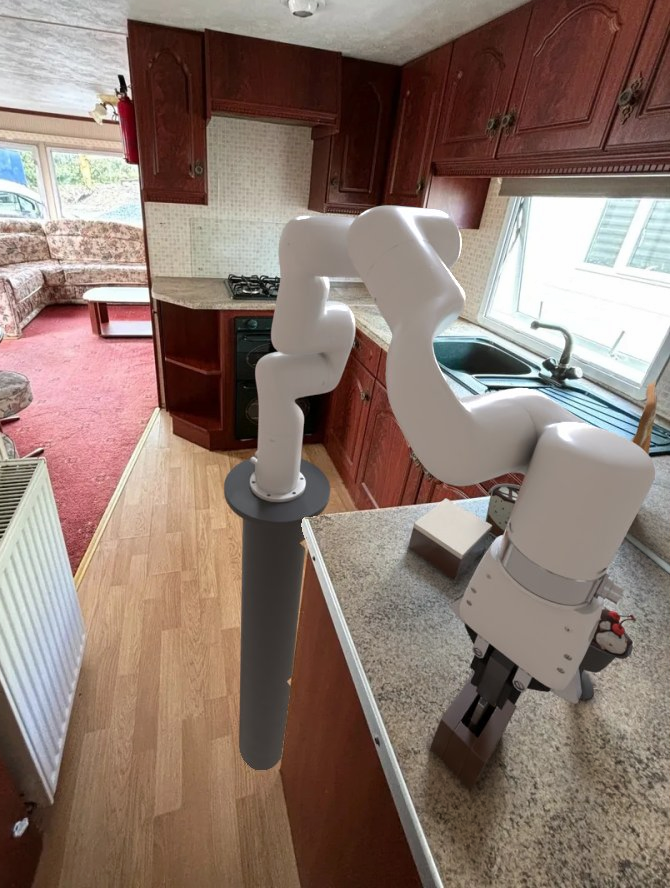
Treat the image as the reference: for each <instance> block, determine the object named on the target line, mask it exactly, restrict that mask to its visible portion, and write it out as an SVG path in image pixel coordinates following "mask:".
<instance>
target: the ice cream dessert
mask: <svg viewBox="0 0 670 888" xmlns="http://www.w3.org/2000/svg"><path fill="white" fill-rule="evenodd" d="M520 488H521V485H519V484H514V483H499V484H495V485H493V486H492V487H491V488H490V489H489V490H488V492H487V493H486V494H487V495H490V496H489V502H488V506H487V512H486V515H485V521H486V522H487V523H489V524H491V525H492V528H491V530H490V533H489V535H491V536H492V537H494V539H496V538H497V537H499V536H501V535H504V532H505V529H506V526H507V524H508V521H509V518H510V515H511V513H512V510H513V507H514V504H515V502H516V499H517V496H518V493H519V491H520Z"/></svg>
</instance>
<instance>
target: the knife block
mask: <svg viewBox="0 0 670 888" xmlns="http://www.w3.org/2000/svg"><path fill="white" fill-rule="evenodd" d="M474 672H475V671H474V670H473V672H472V674H471V675H470V676H469V678H468V679H467V681H466V682H465V683H464V685H463V687H462V688H461V689H460V691H459V692H458V693H457V695H456V697H455V698H454V700H453V701H452V703H451V704H450V705H449V706H448V708H447V709H446V711H445V712H444V713H443V716H442V717H440V719H439V723H438V726H437V728H436V731H435V734H434V736H433V738H432V742H431V744H430V746H429V749H430V751H432V752H433V754H434V755H435V756H436V757H437V758H438V759H439V760H440V761H441V762H442V763H443V764H444V765H445V766H446V768H447V769H448V770H450V772H451V773H452V774H453V775H454V776H455V777H456V778H457V779H458V780H459V781H460V782H461V784H463V786H465V788H466V789H467V790H468V791H469V792H470V793H471V792H473V790H474V788H475V787H476V784H477V782H478V780H479V778H480V777H481V775H482V773H483V771H484V769H485V768H486V766H487V764H488V763H489V760H490V759H491V757H492V756H493V753H494V752H495V750H496V748H497V746H498V744H499V742H500V740H501V739H502V737H503V736H504V733H505V731H506V729H507V727H508V725H509V724H510V721H511V719H512V717H513V715H514V713H515V712H516V710H517V707H518V706H517V704H515V705H514V704H513V703H511V702H510V701H509V700H507V702H506V704H505V705H504V707H503V709H502V710H501V709H500V708H498V707H497V704H496V705H495V707H493V706H492V705H489V707H488V709H487V712H486V714H485V716H484V718H483V720H482V723H481V725H480V727H479V729H480V730H481V732H480V734H479V736H478V737H477V736H476V735H474V734H473V733H472V732H471V731H470V730H469V729H468V726H466V724H467V722H468V720H469V721H471V718H472V716H473V714H474V711H475V709H476V707H477V704H478V702H479V701H480V699H481V698H482V697H481V696H480V695H479V694H478V693H477V692H476V689H477V687H476V686H475V687H474V686H473V685H472V684H471V683H470V682H471V680H472V677H473V675H474Z"/></svg>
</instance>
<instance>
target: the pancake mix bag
mask: <svg viewBox="0 0 670 888" xmlns="http://www.w3.org/2000/svg"><path fill="white" fill-rule="evenodd" d="M657 382H658V380H657V381H653V382H650V383H649V384H648V385H647V387H646V391H645V397H646V403H645V406H644V407H643V410H642V414H641V417H640V418H639V422H638V426H637V429H636V433H635V434H634V436H633V437H632V438H631V440H630V441H632V442H633V443H635V444H637V445H638V446H639V447H641V448H642V449H643V450H644V451H645V452H646V453H647V454H648V455H649V454H650V447H651V441H652V432H653V431H652V430H653V426H654V422H655V419H656V416H657V405H658V395H657V392H656V384H657ZM649 456H650V455H649Z"/></svg>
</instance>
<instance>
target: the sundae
mask: <svg viewBox="0 0 670 888" xmlns="http://www.w3.org/2000/svg"><path fill="white" fill-rule="evenodd" d="M626 617H627V618H626ZM621 618H624V619H623V620H621ZM625 618H626V619H625ZM620 620H621V621H620ZM626 621H633V622H636V621H637V619H636V617H634V615H632V614H630V615H621V614H619V613H618V612H617V611H615V610H609V609H608V608H606V607H603V608H602V612H601V616H600V620H599V623H598V626H597V629H596V632H595V634H594V636H593V638H592V640H591V643H590V645H589V647H588V649H587V652H586V654H585V656H584V658H583V660H582V662H581V663H580V665H579V674H580V682H581V689H582V694H581V696H580V698H579V700H589V699H591V698H592V697H593V695H594V691H595V690H594V684H593V683H592V680H591V679H590V677H589V676H588V675H587V674H586V672H590V673H594V674H595V673H596V674H597V673H600V672H601V671H603V670H604V669H606V668H607V667H608V666H609V665H610V664H611V663H612V662H613V661H614V660H615V659H619V660H625V659H627V658H629V657H630V656H631V654H632V652H633V648H634V647H633V644H634V641H633V640H632V639H631V637H630V636H629V634H628V633H627V632H626V630H625V627H624V626H623V625H622V624H623V623H624V622H626ZM584 671H585V672H584Z"/></svg>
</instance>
